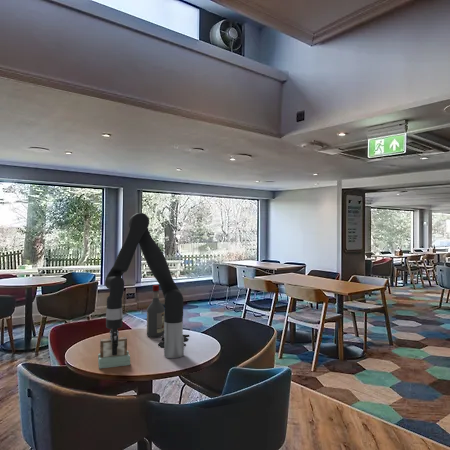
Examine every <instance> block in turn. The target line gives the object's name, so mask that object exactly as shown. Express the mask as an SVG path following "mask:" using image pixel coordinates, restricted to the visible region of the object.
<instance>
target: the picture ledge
mask: <svg viewBox="0 0 450 450" xmlns="http://www.w3.org/2000/svg"><path fill="white" fill-rule="evenodd" d="M97 357H98V358H97V363H98V369H99V370H101V369H107V368H108V369H109V368H116V367H123V366H124V367H125V366H130V365H131V355H130V354H129V350H127V355H121V356H112V357H103V358H100V353H98V354H97Z"/></svg>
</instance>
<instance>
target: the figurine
mask: <svg viewBox="0 0 450 450" xmlns="http://www.w3.org/2000/svg"><path fill="white" fill-rule="evenodd" d="M183 337H184V346H185V347H186V345H187V343H186V342H188V341H189V337H190V334H183ZM160 340H161V341H160V342H159V343H158V344H157V346H158V347H159V346H160V347H159V348H161V349H164V336H162V337H161V338H160Z"/></svg>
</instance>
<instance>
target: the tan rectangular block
mask: <svg viewBox="0 0 450 450" xmlns="http://www.w3.org/2000/svg"><path fill="white" fill-rule="evenodd" d="M114 344H116V343H114ZM99 346H100V352H99V354H100V358H103V357H112V356H121V355H127V351H128V338H127V336H122V337H121V336H120V337H119V336H118V347H117V355H112V342H111V339H110V337H109V338H100V342H99Z"/></svg>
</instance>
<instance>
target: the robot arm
mask: <svg viewBox="0 0 450 450" xmlns="http://www.w3.org/2000/svg"><path fill="white" fill-rule="evenodd" d="M149 226H150V218H149V217H148V215H147V214H146V213H144V212H138V213H135V214H133V215H132V216H131V217H130V218H129V219H128V227H129V230H128V234H127V236H126V239H125V241H124V242H123V244H122V246H121V247H120V250H119V252H118V254H117V256H116V259H115V261H114V264H113V266H112V267H111V268H110V270H109V272H108V273H107V275H106V277H105V281H104V285H105V287H106V288H107V289H109V295H107V298H106V312H105V328H107V329H109V335H110V336H109V338H110V339H111V342H112V355H117V347H118V338H119V335H120V332H119V330H118V329H121V328H122V327H123V295H124V290H125V280H124V278H123V277H122V276H123V274H124V273H127V271H128V270H129V268H130V266H131V262H132V260H133V258H134V255H135V252H136V250H137V247H138V245H139V247H140V251H141V253H142V255H143V257H144V260H145V262H146V264H147V266H148V269H149V271H150V272H151V274H152V276H153V277H154V279H155V280H156V281H157V282H158V285H159V288H160V289H161V292H162V295H163V299H164V308H165V316H164V335H163V337H164V341H163V342H164V348H163V354H164V355H163V356H164V357H165V358H168V359H178V358H181V357H184V356H185V355H184V354H185V353H184V352H185V347H184V343H185V342H184V337H183V335H184V331H183V329H184V326H183V324H184V323H183V322H184V296H183V293H182V291H180V289H179V288H178V286H177V284H176V283H175V281H174V279H173V276H172V273H171V270H170V267H169V263H168V262H167V259H166V257H165V255H164V253H163V251H162V250H161V248H160V246H159V245H158V244H157V242H156V241H155V240H154V239H153V236H152V235H151V232H150V230H149ZM114 343H116V344H114Z"/></svg>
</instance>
